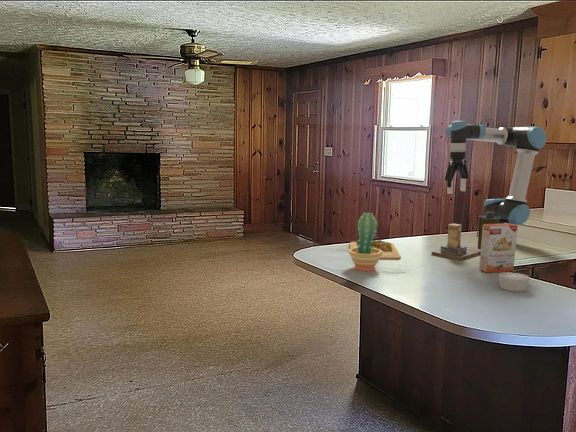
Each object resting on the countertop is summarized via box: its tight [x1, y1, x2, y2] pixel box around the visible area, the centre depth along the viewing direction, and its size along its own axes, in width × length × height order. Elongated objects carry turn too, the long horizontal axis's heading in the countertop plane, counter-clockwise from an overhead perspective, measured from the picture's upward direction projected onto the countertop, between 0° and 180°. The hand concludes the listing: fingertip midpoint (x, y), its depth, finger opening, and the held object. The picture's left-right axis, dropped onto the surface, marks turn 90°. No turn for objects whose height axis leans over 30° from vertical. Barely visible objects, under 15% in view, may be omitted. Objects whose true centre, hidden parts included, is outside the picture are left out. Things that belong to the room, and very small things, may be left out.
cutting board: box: [349, 239, 402, 261], centre depth 274 cm, size 35×23×8 cm
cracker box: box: [478, 223, 518, 274], centre depth 236 cm, size 14×6×21 cm, turn 105°
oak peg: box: [446, 223, 462, 248], centre depth 265 cm, size 4×4×14 cm
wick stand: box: [431, 244, 481, 261], centre depth 270 cm, size 24×16×4 cm, turn 133°
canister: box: [476, 212, 501, 249], centre depth 278 cm, size 11×10×20 cm
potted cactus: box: [347, 212, 383, 271], centre depth 239 cm, size 15×15×25 cm
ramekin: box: [498, 272, 530, 293], centre depth 210 cm, size 11×11×5 cm
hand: (456, 192), depth 278 cm, fingers open, 13 cm apart
